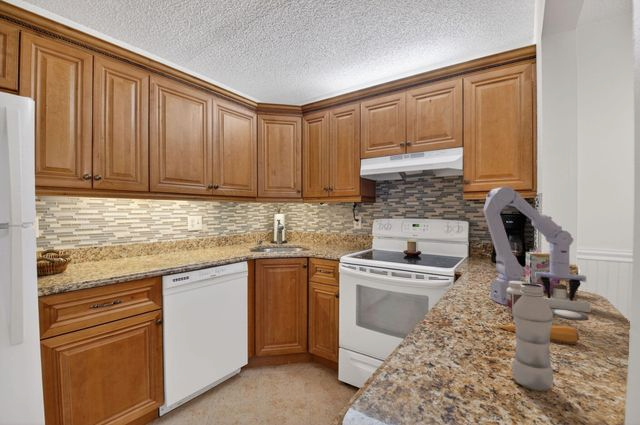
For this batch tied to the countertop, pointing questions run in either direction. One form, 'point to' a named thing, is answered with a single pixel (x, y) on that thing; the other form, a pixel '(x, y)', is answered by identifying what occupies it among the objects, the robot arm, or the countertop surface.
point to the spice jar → (559, 291)
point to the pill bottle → (513, 295)
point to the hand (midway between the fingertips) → (559, 298)
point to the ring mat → (569, 314)
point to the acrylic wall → (567, 304)
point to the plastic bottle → (532, 339)
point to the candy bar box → (538, 268)
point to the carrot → (556, 333)
